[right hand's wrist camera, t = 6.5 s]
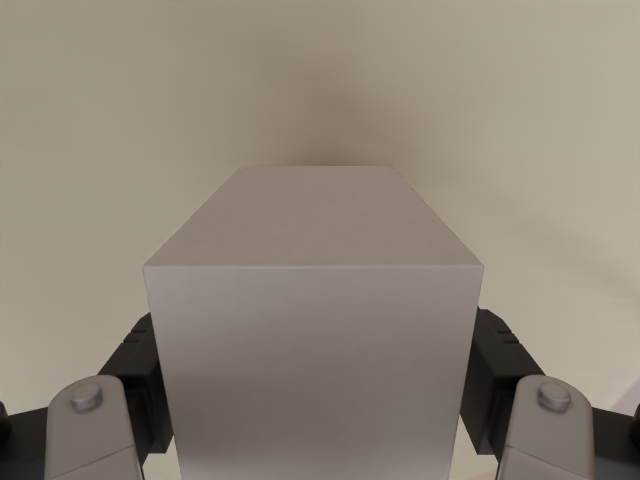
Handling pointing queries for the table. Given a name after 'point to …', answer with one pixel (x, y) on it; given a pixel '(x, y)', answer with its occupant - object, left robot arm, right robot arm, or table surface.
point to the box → (314, 328)
